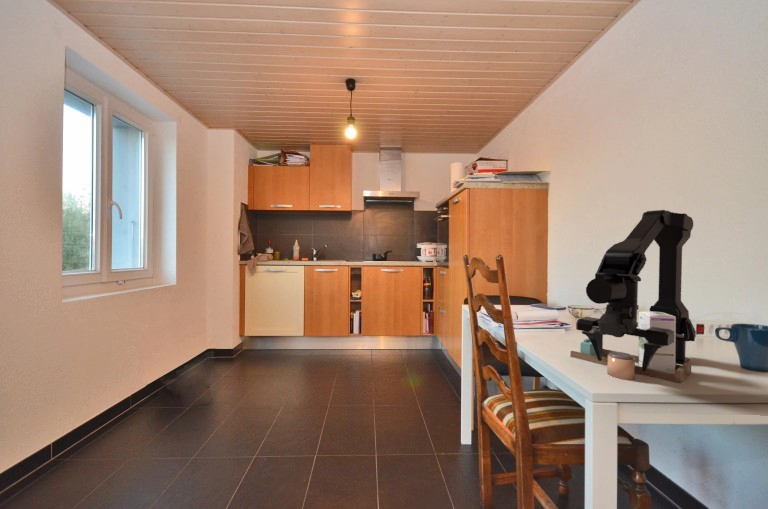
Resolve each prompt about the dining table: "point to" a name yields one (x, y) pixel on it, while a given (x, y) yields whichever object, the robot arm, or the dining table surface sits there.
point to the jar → (621, 365)
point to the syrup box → (666, 354)
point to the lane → (678, 377)
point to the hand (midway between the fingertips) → (621, 365)
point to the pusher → (587, 347)
